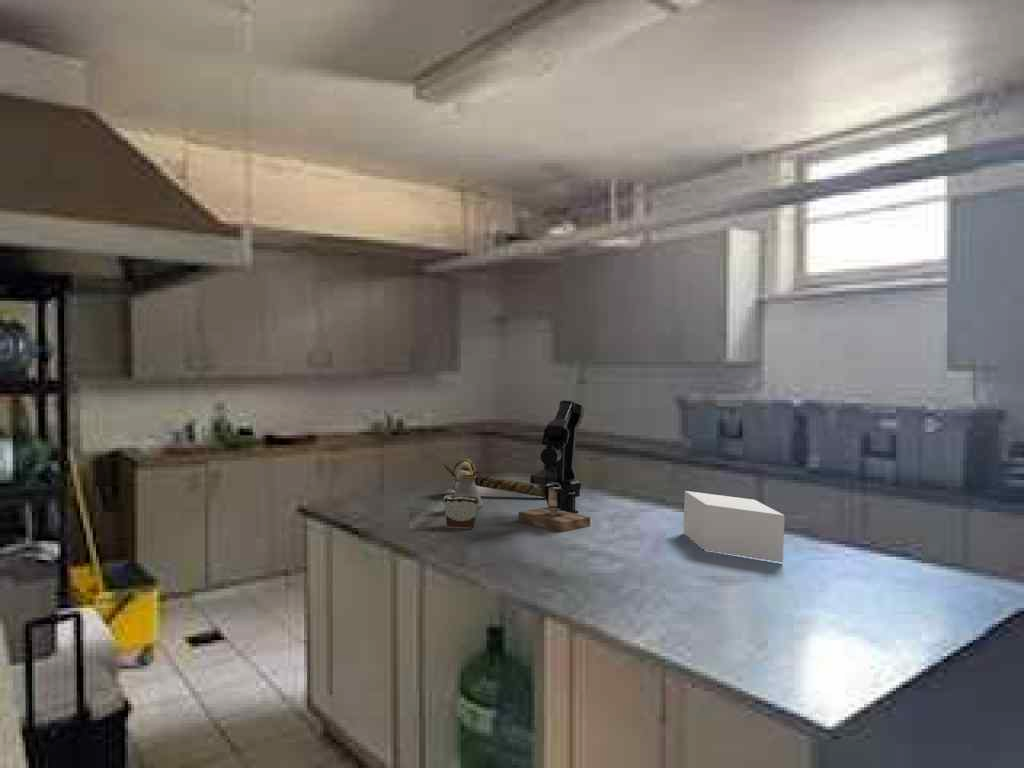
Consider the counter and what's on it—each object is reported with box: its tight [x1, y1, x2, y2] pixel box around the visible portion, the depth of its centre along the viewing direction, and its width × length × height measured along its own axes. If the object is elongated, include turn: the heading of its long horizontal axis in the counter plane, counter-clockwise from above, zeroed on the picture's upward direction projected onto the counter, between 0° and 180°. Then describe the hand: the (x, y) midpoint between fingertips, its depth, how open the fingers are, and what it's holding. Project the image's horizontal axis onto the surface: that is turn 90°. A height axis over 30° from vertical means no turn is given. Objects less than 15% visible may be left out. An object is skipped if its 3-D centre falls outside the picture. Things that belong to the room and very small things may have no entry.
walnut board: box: [517, 506, 591, 533], centre depth 254 cm, size 14×20×3 cm
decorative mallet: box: [450, 458, 545, 498], centre depth 301 cm, size 15×42×16 cm, turn 95°
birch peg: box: [547, 487, 560, 516], centre depth 254 cm, size 4×4×9 cm
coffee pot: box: [441, 464, 484, 513], centre depth 274 cm, size 21×12×15 cm, turn 38°
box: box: [683, 490, 786, 563], centre depth 227 cm, size 20×40×14 cm, turn 30°
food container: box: [441, 493, 480, 529], centre depth 247 cm, size 12×6×10 cm, turn 84°
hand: (554, 507), depth 254 cm, fingers closed on birch peg, 4 cm apart
